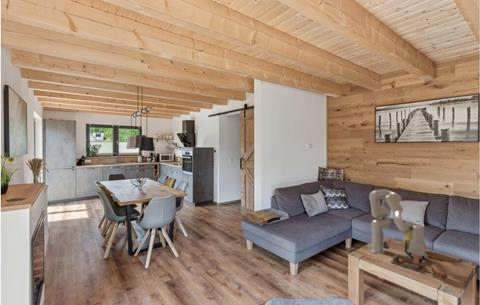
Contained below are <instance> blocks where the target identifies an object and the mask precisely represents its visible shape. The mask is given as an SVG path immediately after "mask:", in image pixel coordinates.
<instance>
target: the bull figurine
mask: <svg viewBox="0 0 480 305" xmlns="http://www.w3.org/2000/svg"><path fill="white" fill-rule="evenodd" d="M429 267H430V268H431V271H432V275H431V278H432V277H436V278H438V277H439V278H441V282H442V283H445V281H446V280H447V279H448V274H447V273H445V272H444V271H442V270H440V269H439V268H438V267H437V266H435V265H434V264H431V265H429ZM435 275H436V276H435Z"/></svg>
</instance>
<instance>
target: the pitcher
mask: <svg viewBox="0 0 480 305" xmlns="http://www.w3.org/2000/svg"><path fill="white" fill-rule="evenodd" d="M410 237H412V231H409V232H406V235H405V236H404V237H403V241H402V243H403V244H402V245H403V247H404V248H405V240H411V239H410ZM423 243H424V246H425V247H426V243H425V241H424V240H423Z"/></svg>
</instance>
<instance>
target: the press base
mask: <svg viewBox="0 0 480 305" xmlns="http://www.w3.org/2000/svg"><path fill="white" fill-rule="evenodd" d="M399 259H402V260H403V263H402V264H401V263H399ZM390 263H391V265H394V266H399V267H401V268H404V269H407V270H411V271H413V272H416V273H420V274H423V273H424V272H425V269H426V265H424V264H421V267H420V269H419V270H418V269H415V268H412V267H411V263H412V261H411V260H407V259H403V258H401V257H399V254H397V253H395V254H394V255H393V257H392V260H391V261H390Z"/></svg>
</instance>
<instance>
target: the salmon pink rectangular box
mask: <svg viewBox="0 0 480 305" xmlns="http://www.w3.org/2000/svg"><path fill="white" fill-rule="evenodd" d="M419 259H420V256H419V255H416V254H413V262H412V261H411V262H412V263H411V267H412V268H415V269H418V270H419V269H420V267H421V265H422V264H421V263H419Z"/></svg>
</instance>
